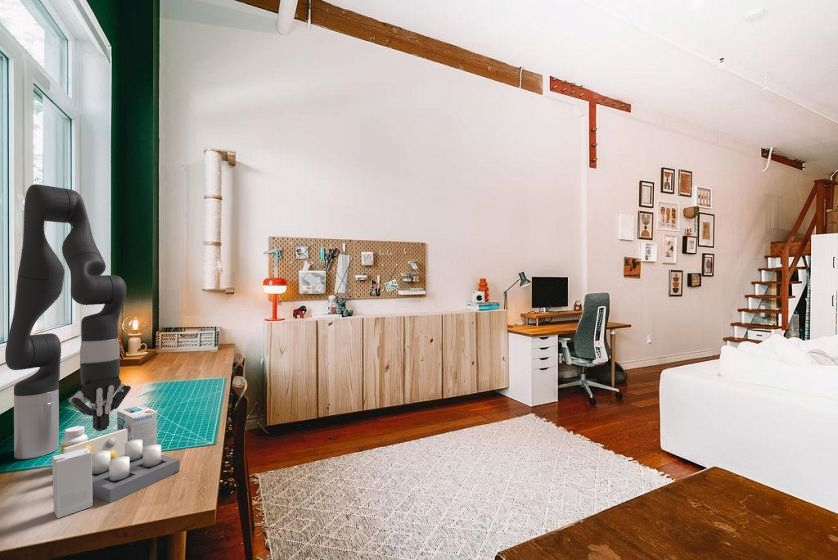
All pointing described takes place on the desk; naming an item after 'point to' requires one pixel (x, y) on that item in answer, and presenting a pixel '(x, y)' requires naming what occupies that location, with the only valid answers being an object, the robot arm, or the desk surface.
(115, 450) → the plaque
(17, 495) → the desk surface
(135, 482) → the button board
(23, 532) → the desk surface
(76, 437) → the supplement bottle
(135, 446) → the button
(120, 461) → the button
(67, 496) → the skincare box
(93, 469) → the button
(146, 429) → the light bulb box
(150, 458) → the button
